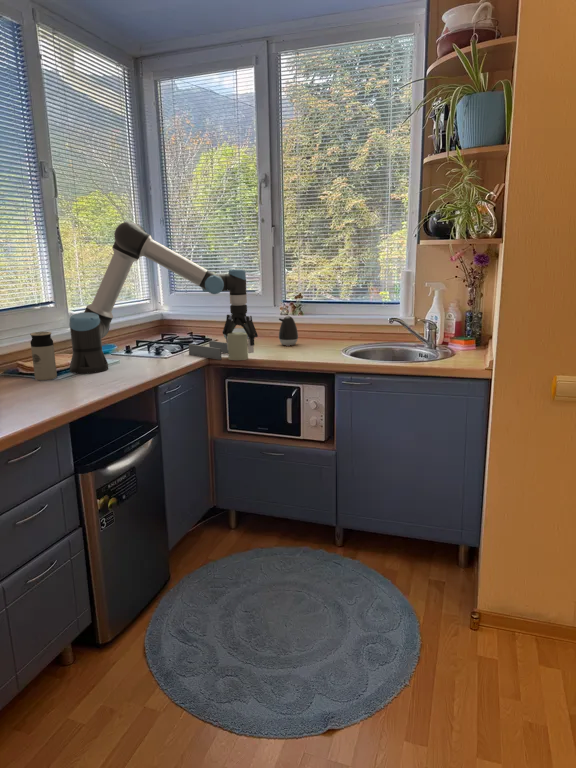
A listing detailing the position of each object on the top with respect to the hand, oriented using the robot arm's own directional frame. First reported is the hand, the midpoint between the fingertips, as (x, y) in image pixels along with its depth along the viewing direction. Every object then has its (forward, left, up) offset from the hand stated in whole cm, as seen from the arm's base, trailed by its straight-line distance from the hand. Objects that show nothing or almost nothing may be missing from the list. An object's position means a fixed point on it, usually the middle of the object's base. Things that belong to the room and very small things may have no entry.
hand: (240, 351), depth 245 cm
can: (0, +2, -4) cm, 4 cm away
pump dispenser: (+43, +8, -4) cm, 44 cm away
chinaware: (+28, +31, -4) cm, 42 cm away
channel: (0, +17, -4) cm, 17 cm away
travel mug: (-75, +32, -4) cm, 82 cm away
